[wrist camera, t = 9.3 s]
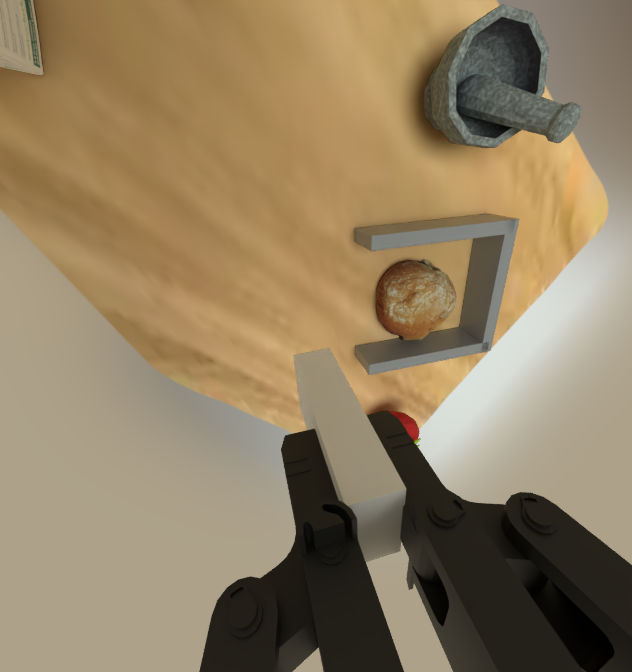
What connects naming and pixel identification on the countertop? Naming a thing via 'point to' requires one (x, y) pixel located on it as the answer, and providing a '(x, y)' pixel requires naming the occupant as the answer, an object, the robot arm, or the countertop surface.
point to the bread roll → (414, 299)
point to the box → (480, 292)
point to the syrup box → (19, 37)
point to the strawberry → (408, 425)
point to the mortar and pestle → (496, 84)
